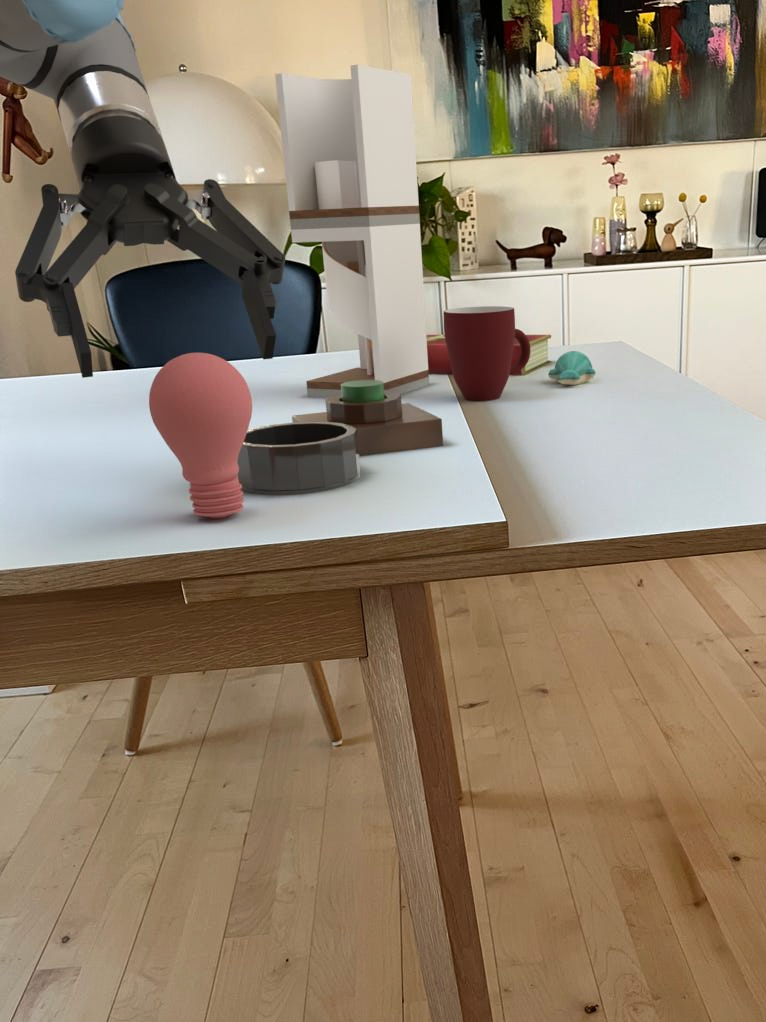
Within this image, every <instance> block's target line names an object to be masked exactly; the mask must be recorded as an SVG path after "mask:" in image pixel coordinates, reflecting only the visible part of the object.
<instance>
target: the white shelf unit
mask: <svg viewBox="0 0 766 1022" xmlns="http://www.w3.org/2000/svg"><path fill="white" fill-rule="evenodd" d="M274 79H275V87H276V98H277V106H278V108H277V109H278V117H279V127H280V135H281V136H280V138H281V145H282V146H281V147H282V157H283V165H284V176H285V186H286V195H287V205H288V206H287V207H288V213H289V224H290V225H289V226H290V234H291V235H290V236H291V243H294V244H295V243H319V242H321V247H322V249H321V250H322V259H323V269H324V280H325V291H326V301H327V310H328V312H329V314H330V316H331V317H332V318H333V319H334V320H336V321H337V322H338V323H339V324H340V325H341V326H343V327H345V328H346V329H348V330H349V331H351V332H353V333H355V334H357V339H358V341H357V342H358V352H359V353H358V354H359V364H360V367H354V368H350V369H346V370H343V371H339V372H335V373H332V374H328V375H324V376H321V377H317V378H313V379H309V380H306V391H307V398H317V399H318V398H319V399H320V398H321V399H328V398H330V397H333V396H337V395H342V393H341V384H342V383H345V382H350V381H358V380H379V381H383V383H384V392H390V393H396V394H398V395H403V394H407V393H409V392H412V391H415V390H418V389H420V388H421V389H422V388H424V387H427V386H430V374H429V373H428V356H427V339H426V335H427V323H426V322H427V321H426V305H425V289H424V272H423V270H424V269H423V256H422V255H423V254H422V253H423V252H422V238H421V237H422V235H421V221H420V220H421V219H420V204H419V186H418V171H417V170H418V169H417V168H418V167H417V154H416V152H417V150H416V135H415V133H416V132H415V119H414V99H413V83H412V81H413V80H412V73H407V72H401V71H395V70H390V69H385V68H379V67H373V66H367V65H362V64H352V65H351V64H350V78H343V79H342V78H341V79H339V78H338V79H335V78H333V79H332V78H331V79H330V78H317V77H316V78H315V77H308V76H301V75H294V74H288V73H275V74H274Z"/></svg>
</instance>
